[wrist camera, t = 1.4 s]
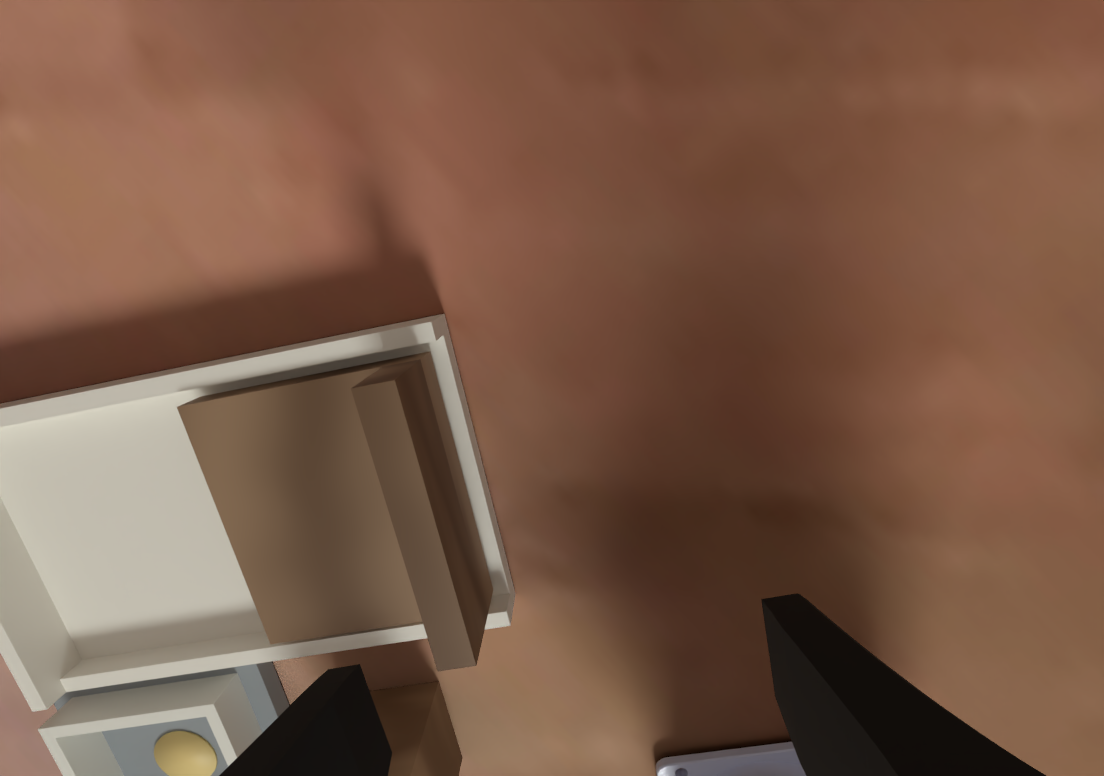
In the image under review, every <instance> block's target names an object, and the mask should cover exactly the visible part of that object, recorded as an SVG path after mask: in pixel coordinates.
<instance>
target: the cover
mask: <svg viewBox="0 0 1104 776" xmlns="http://www.w3.org/2000/svg"><path fill="white" fill-rule="evenodd" d="M177 409H178V412H179V414H180V417H181V419H182V422H183V424H184V427H185V429H186V432H187V434H188V437H189V440H190V442H191V445H192V447H193V450H194V452H195V455H196V457H197V460H198V462H199V465H200V467H201V470H202V472H203V475H204V477H205V480H206V483H207V485H208V488H209V490H210V493H211V495H212V498H213V500H214V503H215V505H216V508H217V510H218V513H219V515H220V518H221V521H222V523H223V526H224V528H225V531H226V533H227V536H228V538H229V541H230V543H231V546H232V548H233V551H234V553H235V556H236V559H237V561H238V564H239V566H240V569H241V571H242V574H243V576H244V579H245V581H246V584H247V586H248V589H249V591H250V594H251V597H252V599H253V602H254V604H255V607H256V609H257V612H258V614H259V617H260V619H261V622H262V624H263V627H264V629H265V632H266V635H267V637H268V640H269V642H270V645H271V644H277V643H284V642H290V641H297V640H304V639H310V638H317V637H323V636H330V635H336V634H343V633H349V632H356V631H363V630H369V629H376V628H382V627H389V626H395V625H402V624H408V623H415V622H423V625H424V628H425V631H426V635H427V638H428V641H429V644H430V648H431V651H432V654H433V657H434V661H435V664H436V667H437V670H438V671H443V670H450V669H457V668H464V667H471V666H476V665H477V660H478V656H479V651H480V647H481V643H482V638H483V634H484V629H485V625H486V620H487V616H488V612H489V607H490V603H491V598H492V594H493V586H492V582H491V579H490V575H489V571H488V567H487V564H486V560H485V556H484V552H483V549H482V545H481V541H480V537H479V533H478V530H477V526H476V522H475V518H474V515H473V511H472V507H471V503H470V499H469V496H468V492H467V488H466V484H465V481H464V477H463V473H462V469H461V465H460V462H459V458H458V454H457V450H456V447H455V443H454V439H453V435H452V431H451V428H450V424H449V420H448V416H447V413H446V409H445V405H444V401H443V397H442V394H441V390H440V386H439V382H438V379H437V375H436V371H435V367H434V364H433V360H432V356H431V352H430V351H429V352H424V353H419V354H414V355H409V356H404V357H399V358H393V359H388V360H383V361H378V362H373V363H368V364H363V365H358V366H353V367H348V368H343V369H338V370H333V371H327V372H322V373H317V374H312V375H307V376H302V377H297V378H292V379H287V380H282V381H277V382H272V383H267V384H261V385H256V386H251V387H246V388H241V389H236V390H231V391H226V392H221V393H216V394H211V395H206V396H201V397H199V398H196V399H194V400H192V401H189V402H187V403H185V404H182V405H180V406H178V407H177Z"/></svg>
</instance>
